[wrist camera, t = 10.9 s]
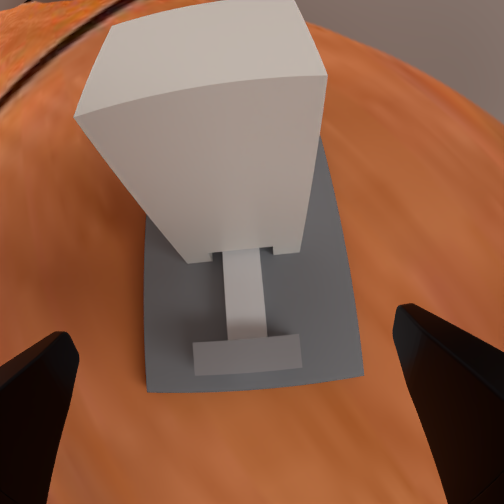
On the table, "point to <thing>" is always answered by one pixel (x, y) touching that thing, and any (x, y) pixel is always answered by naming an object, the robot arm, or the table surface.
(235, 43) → the block
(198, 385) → the rail plate
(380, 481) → the table surface
